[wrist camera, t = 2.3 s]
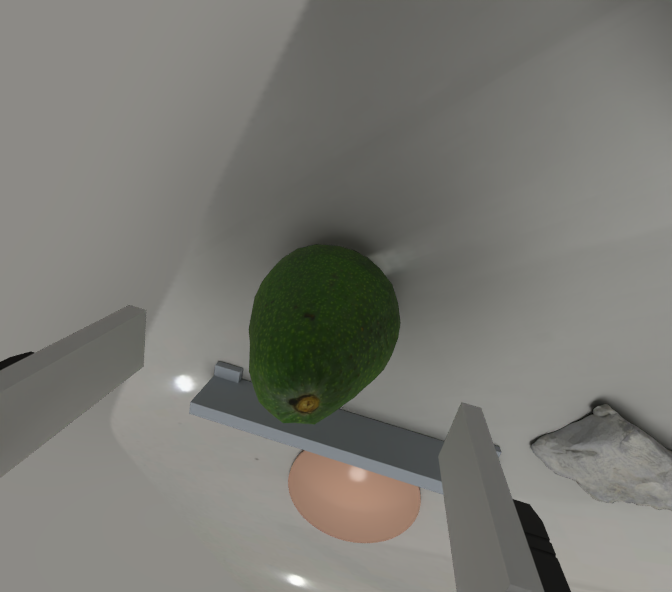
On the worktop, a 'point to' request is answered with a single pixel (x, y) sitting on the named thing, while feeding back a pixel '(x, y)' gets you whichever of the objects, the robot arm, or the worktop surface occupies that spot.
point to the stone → (610, 459)
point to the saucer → (351, 499)
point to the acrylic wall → (324, 432)
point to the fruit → (320, 332)
